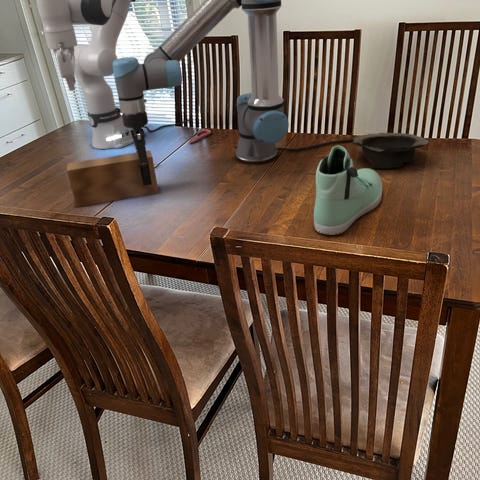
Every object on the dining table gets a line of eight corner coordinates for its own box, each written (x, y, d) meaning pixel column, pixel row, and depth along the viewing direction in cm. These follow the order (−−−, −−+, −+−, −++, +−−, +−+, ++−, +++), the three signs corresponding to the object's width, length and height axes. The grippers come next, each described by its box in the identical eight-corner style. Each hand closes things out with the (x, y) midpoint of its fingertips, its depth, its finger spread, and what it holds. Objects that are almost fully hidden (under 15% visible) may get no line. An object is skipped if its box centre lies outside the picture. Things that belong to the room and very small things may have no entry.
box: (76, 207, 152) (66, 170, 146) (77, 199, 157) (67, 163, 151) (158, 192, 157) (152, 156, 151) (156, 185, 162) (150, 150, 156)
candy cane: (180, 142, 197) (179, 139, 196) (203, 131, 207) (202, 127, 206) (191, 144, 194) (191, 141, 193) (214, 133, 204) (213, 129, 203)
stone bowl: (386, 179, 152) (387, 151, 148) (337, 161, 173) (337, 136, 168) (443, 160, 161) (445, 133, 157) (390, 145, 182) (391, 120, 177)
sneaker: (389, 187, 148) (396, 123, 138) (356, 242, 123) (361, 168, 112) (346, 181, 154) (350, 119, 144) (306, 232, 129) (307, 161, 118)
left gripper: (71, 44, 139) (82, 92, 146) (72, 35, 156) (83, 78, 163) (48, 47, 138) (61, 95, 145) (52, 37, 155) (64, 81, 162)
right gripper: (150, 121, 136) (161, 189, 147) (142, 100, 157) (152, 161, 168) (123, 125, 134) (137, 193, 145) (119, 103, 155) (131, 164, 166)
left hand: (72, 86), depth 154 cm, fingers open, 8 cm apart
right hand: (145, 176), depth 157 cm, fingers open, 13 cm apart
